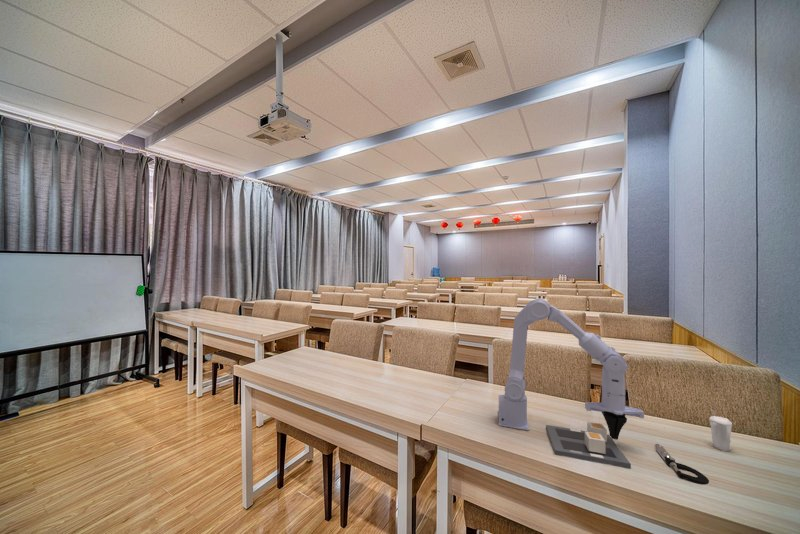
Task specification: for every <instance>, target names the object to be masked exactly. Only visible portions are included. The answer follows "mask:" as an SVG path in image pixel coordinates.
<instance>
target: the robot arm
mask: <svg viewBox="0 0 800 534" xmlns="http://www.w3.org/2000/svg"><path fill="white" fill-rule="evenodd" d="M545 319H547V320H548V322H549V321H550V322H554V323H558V324H559V325H560V326H562V327H563V329H565V330H566V331H567V332H569V333H570V334H572V336H574V337H575V338H576V339H578V345H579V347H580V348H581V349H583V350H584V351H585V352H586V353H588V354H589V355H590V356H591V357H592V358H593V359H594V360H596V361H598V362H599V363H600V364H601V365H602V368H601V369H602V373H601V401H600V402H595V401H594V402H590V401H585V402H584V406H585V407H584V408H585V409H586V412H587V411H588V412H591V411H594V412H599V413H601V414H602V415H603V418H604V420H605V423H606V426H607V428H608V432H609V435H610V437H611V438H612V439H613V440H619V435H620V432H621V430H622V429H623V427H624V426H625V424H626V423H627V421H628V418H627V417H626V416H629V417H636V418H640V419H645V412H644V411H643V410H642V409H641V408H635V407H631V406H627V405H626V378H625V374H626V372H627V370H628V367H629V366H628V365H627V361H626V359H625V358H624V357H623V356H622V355H620V353H619V352H618V351H616V349H615V348H614V346H610V345H608V344H607V343H606V342H605V341H603V339H602V337H601V335H599V334H598V333H596V334H595V333H594V332H587V331H584V329H583V328H581V327H580V326H579V325H578V324H576V323H575V322H574V321H573V320H572V319H571V318H570V317H569V316H567V314H565V313H564V312H563V311H561V309H559V308H557V307H555V305H553V304H552V303H550V304H549V303H548V302H547V300H545V299H543V298H535V299H533V300H530V302H527V304H526V305H525V306H523V308H522V309H521V310H520V311H519V312H518V313H517V314H516V315H515V317H514V320H513V331H512V342H511V355H510V365H509V373H508V377H507V380H506V384H505V386H504V394H498V411H497V417H498V425H499V426H500V427H505V428H511V429H516V430H522V431H523V430H525V431H530V426H529V422H528V396H527V395H526V394H525V393H526V388H527V387H526V386H527V382H526V379H525V364H526V351H527V340H528V328H529V326H530V325H532V324H533V323H535V322H537V321H541V320H542V321H543V320H545Z"/></svg>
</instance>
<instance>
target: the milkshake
mask: <svg viewBox="0 0 800 534" xmlns="http://www.w3.org/2000/svg"><path fill="white" fill-rule="evenodd" d="M711 412H712V415H711V416H710V417H709V424H710V431H711V440H712V446H713V447H714V448H715V449H717V450H720V451H723V452H729V451H730V448H731V447H730V445H731V435H732V427H733V423H732V421H730V419H728V418H726V417H722V416H716V413H715V410H714V409H711Z"/></svg>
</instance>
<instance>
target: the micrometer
mask: <svg viewBox="0 0 800 534" xmlns="http://www.w3.org/2000/svg"><path fill="white" fill-rule="evenodd" d="M654 448H655V451H656V452H657V453H658V454H659V456H660V457H661V458H662V460H663V461H664V462H665V463H666V465H667V466H668V467H669V468H672V469H674V471H675V472H676V474H677V475H678V476H679V478H681V479H685V480H688V481H691V482H692V483H696V484H697V485H698V484H699V485H708V484H709V483H710V480H709V478H708V477H706V475H705V474H703V473H701V472H700V471H699V470H697V469H695V468H693V467H691V466H688V465H686V464H683V463H679V462H676V459H675V458H674V457H672V456H671V454H670V453H669V452H668V451H667V450H666V448H664V446H662V445H660V444H659V443H655V445H654ZM681 470H683V471H686V472H689V473H692V474H694V475H695V476H693V475H690V474H686V473H684V472H682V471H681Z"/></svg>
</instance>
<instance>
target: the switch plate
mask: <svg viewBox="0 0 800 534" xmlns="http://www.w3.org/2000/svg"><path fill="white" fill-rule="evenodd" d="M545 429H546V433H547V436H548V438H549V441H550V444H551V447H552V450H553V453H554V455H557V456H561V457H568V458H572V459H578V460H583V461H588V462H593V463H599V464H603V465H604V464H605V465H611V466H615V467H620V468H626V469H631V468H632V467H631V466H632V465H631V462H630V461H629V460H628V458H627V457H626V456H625V454H624V453H623V452H622V450H621V449H620V447H619V446H618V445H617V444H616V441H614V439H612V438H611V436H610V434H607V442H605V452H606V454H602V453H597V452H591V451H589V450H588V449H587V447H586V445H585V431H586V432H587V430H582V429H576V428H575V429H574V428H570V427H563V426H556V425H550V424H545Z"/></svg>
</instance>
